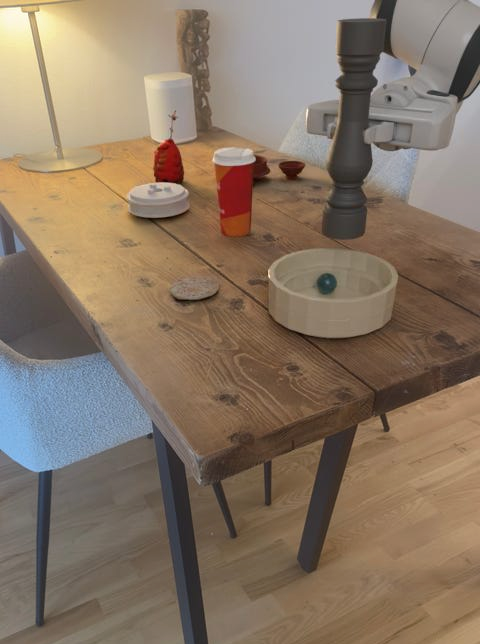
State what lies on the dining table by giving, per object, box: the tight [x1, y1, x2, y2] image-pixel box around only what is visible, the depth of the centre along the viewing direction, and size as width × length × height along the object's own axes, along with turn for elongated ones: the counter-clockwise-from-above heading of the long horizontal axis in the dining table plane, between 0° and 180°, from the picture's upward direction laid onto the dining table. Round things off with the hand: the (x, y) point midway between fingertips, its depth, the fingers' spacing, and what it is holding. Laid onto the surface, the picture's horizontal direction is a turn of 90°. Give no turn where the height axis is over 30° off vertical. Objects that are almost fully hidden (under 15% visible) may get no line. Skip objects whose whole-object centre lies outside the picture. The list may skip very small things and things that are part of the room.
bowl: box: [267, 247, 399, 339], centre depth 80 cm, size 18×18×6 cm
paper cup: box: [211, 146, 256, 237], centre depth 103 cm, size 8×8×14 cm
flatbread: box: [169, 275, 220, 301], centre depth 87 cm, size 8×8×1 cm
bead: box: [317, 273, 337, 294], centre depth 83 cm, size 3×3×3 cm
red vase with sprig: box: [152, 110, 185, 184], centre depth 129 cm, size 8×7×15 cm
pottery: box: [253, 154, 307, 183], centre depth 132 cm, size 12×20×4 cm, turn 94°
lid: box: [125, 182, 191, 219], centre depth 115 cm, size 13×13×5 cm
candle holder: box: [321, 17, 386, 241], centre depth 74 cm, size 6×6×25 cm
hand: (347, 134), depth 73 cm, fingers closed on candle holder, 3 cm apart
